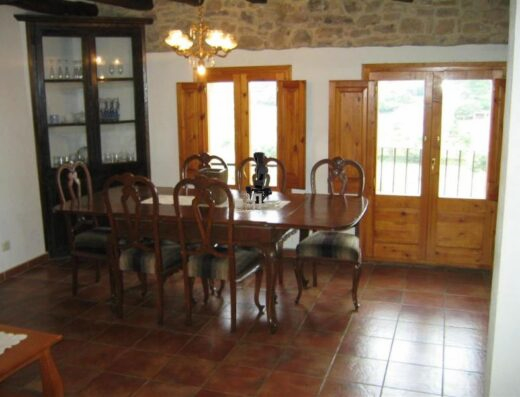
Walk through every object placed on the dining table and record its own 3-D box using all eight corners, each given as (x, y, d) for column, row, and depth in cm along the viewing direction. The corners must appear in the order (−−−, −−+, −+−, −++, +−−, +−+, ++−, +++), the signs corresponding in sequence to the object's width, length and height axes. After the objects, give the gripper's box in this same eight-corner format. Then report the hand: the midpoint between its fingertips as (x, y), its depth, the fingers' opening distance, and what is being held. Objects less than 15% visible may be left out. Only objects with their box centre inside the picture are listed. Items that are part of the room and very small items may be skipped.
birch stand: (239, 210, 397) (239, 192, 395) (253, 211, 394) (253, 193, 392) (235, 213, 387) (234, 195, 385) (248, 214, 384) (248, 196, 382)
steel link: (253, 210, 398) (253, 193, 395) (261, 210, 396) (261, 193, 394) (252, 210, 396) (252, 193, 394) (260, 211, 395) (260, 194, 392)
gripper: (246, 174, 398) (241, 192, 389) (271, 176, 393) (267, 194, 384) (249, 184, 407) (244, 201, 398) (274, 185, 402) (270, 203, 393)
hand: (256, 200), depth 393 cm, fingers open, 9 cm apart
